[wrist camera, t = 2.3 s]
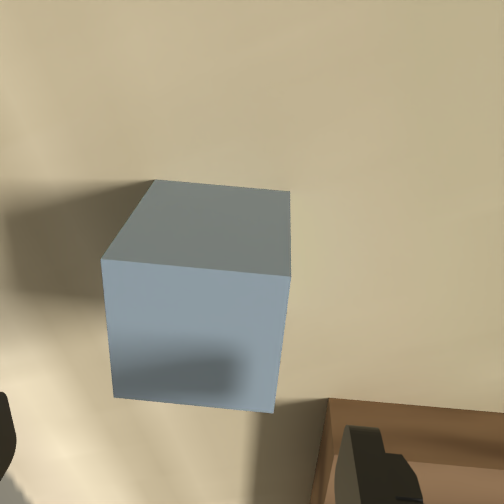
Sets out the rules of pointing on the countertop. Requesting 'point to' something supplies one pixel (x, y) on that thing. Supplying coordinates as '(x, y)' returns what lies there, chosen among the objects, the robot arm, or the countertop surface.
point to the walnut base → (423, 449)
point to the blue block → (199, 296)
